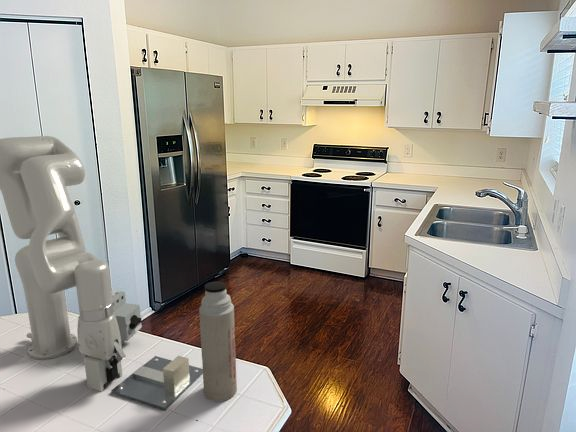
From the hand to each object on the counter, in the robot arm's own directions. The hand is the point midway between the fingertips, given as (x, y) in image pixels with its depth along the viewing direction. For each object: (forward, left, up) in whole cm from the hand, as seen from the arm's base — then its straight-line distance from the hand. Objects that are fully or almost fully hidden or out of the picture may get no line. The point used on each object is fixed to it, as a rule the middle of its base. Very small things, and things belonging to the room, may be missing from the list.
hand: (104, 376), depth 107 cm
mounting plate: (+13, +5, -1) cm, 14 cm away
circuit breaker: (-10, +15, -2) cm, 18 cm away
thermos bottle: (+29, +8, -2) cm, 30 cm away
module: (0, 0, -1) cm, 1 cm away
